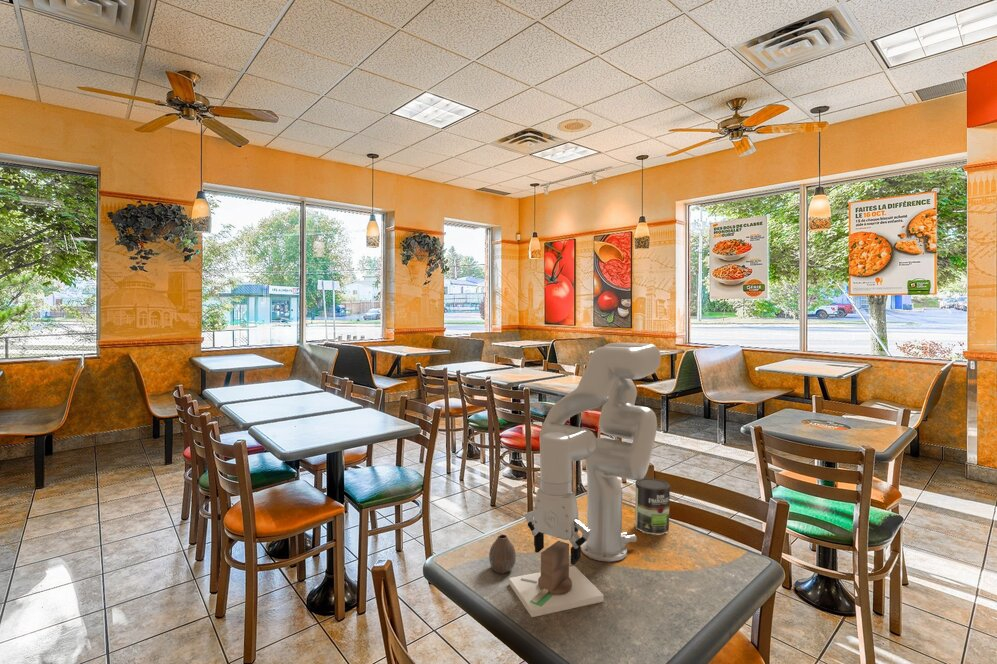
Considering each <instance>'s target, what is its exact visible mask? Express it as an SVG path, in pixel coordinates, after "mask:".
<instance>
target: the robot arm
mask: <svg viewBox="0 0 997 664" xmlns="http://www.w3.org/2000/svg"><path fill="white" fill-rule="evenodd" d="M661 361H662V354H661V352H660V349H659V348H658V347H657V346H656V345H655V344H653V343H641V342H639V343H638V342H635V343H634V342H610V343H607V344H605V345H604V346H600V347H597V348H595V349H594V350H593V352H592V353H591V355H590V358H589V359H588V363H587V365H586V367H585V369H584V371H583V374H582V376H581V378H580V381H579V383H578V385H577V387H576V388H575V389H573V390H572V391H570V392H569V393H567V394H566V395H564V396H563V397H562V398H561V399H559V400H558V401H556V403H554V404H553V406H551V408H550V409H549V411H548V413H547V415H546V417H545V418H544V419H545V420H544V422H543V424H542V426H541V429H540V432H539V438H538V439H539V441H538V442H539V465H540V466H539V468H540V469H539V472H540V473H539V474H540V475H539V476H537V477H536V478H535V480H536V481H535V482H536V483H539V488H538V489H536V496H535V500H534V507H533V508H534V509H533V510H531V511H527V512H526V513H525V514H524V519H525V521H526V522H527V527H528V528H529V530H530V531H531V535H532V536H533V546H534V552H535V553H539V552H541V551H542V550H543V549H544V547H545V541H544V540H545V539H544V538H545V537H544V536H545V535H547V536H550V537H553V538H557V539H561V540H564V541H569V544H571V547H570V564H571V566H575V565H576V564H577V562H579V561H580V560H581V557H582V555H581V552H582V553H583V554H584V555H585V556H587V557H588V558H590V559H592V560H596V561H600V562H618V561H621V560H623V559H625V558H626V556H627V555H628V547H627V546H626V545H628V543H635V542H637V540H638V539H637V535H636V534H633V533H632V534H629V535H628V533H627V532H626V531H625V532H623V528H622V527H623V524H622V523H623V488H622V485H621V482H620V480H619V478H622V479H626V480H632V481H636V480H641V479H643V478H646V475H647V473H648V470H649V466H650V462H651V457H652V453H653V448H654V444H655V440H656V435H657V429H658V419H657V415H656V413H655V412H654V410H653V409H652V408H650V407H647V406H642V405H635V403H636V399H637V395H638V390H637V387H636V385H635V383H634V382H633V380H641V379H643V378H647V377H648V376H651V375H653V374H655V373H656V371H657V372H658V370H659V367H660V366H661ZM600 407H601V411H600V415H599V418H598V420H599V421H598V428H599V430H600V431H601V432H602V433H603V434H604V435H608V436H609V437H616V438H621V439H626V440H632V442H629V441H628V442H627V441H623V440H622V441H621V440H618V439H612V438H608V437H607V438H605V437H596V435H595V433H594V432H593V431H592V430H590V429H587V428H584V427H579V426H578V427H577V426H573V425H568V424H566V422H567V421H568V420H569V419H570V418H572V417H574V416H575V415H578V414H581V413H584V412H587V411H591V410H595V409H597V408H600ZM577 461H578V462H579V461H584V465H585V471H586V478H587V479H586V482H587V486H586V487H587V492H586V493H587V498H586V499H587V500H586V504H587V505H586V507H587V508H586V525H585V524H584V523H583V522H581V521H580V519H579V511H578V510H579V508H578V502H577V498H576V493H575V492H574V491H573V463H574V462H577ZM579 531H580V532H581V533H582V535H581V536H580V534H579V533H578V532H579Z"/></svg>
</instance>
